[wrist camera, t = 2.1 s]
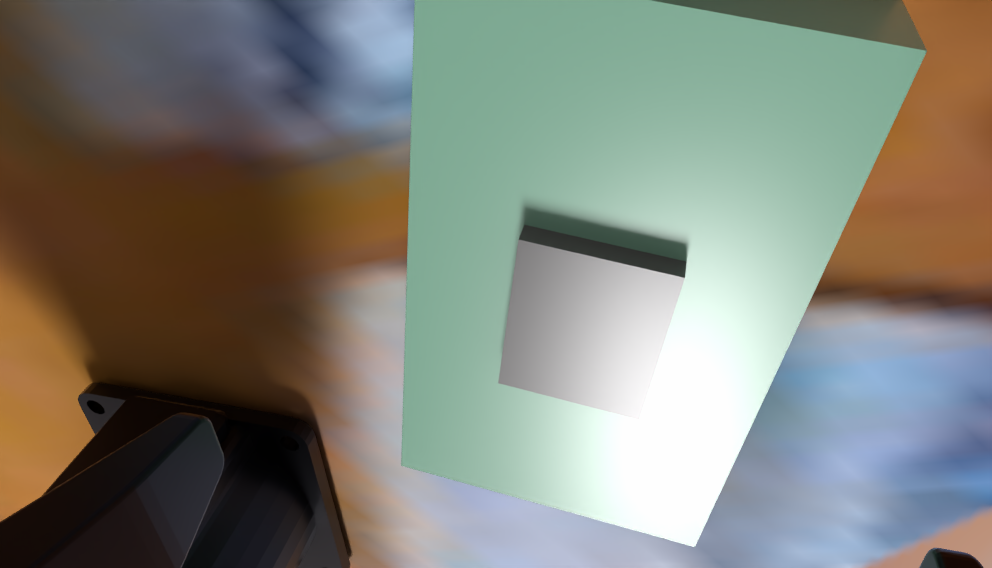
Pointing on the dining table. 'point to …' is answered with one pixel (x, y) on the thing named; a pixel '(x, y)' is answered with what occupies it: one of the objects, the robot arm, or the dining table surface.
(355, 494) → the dining table surface
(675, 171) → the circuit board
